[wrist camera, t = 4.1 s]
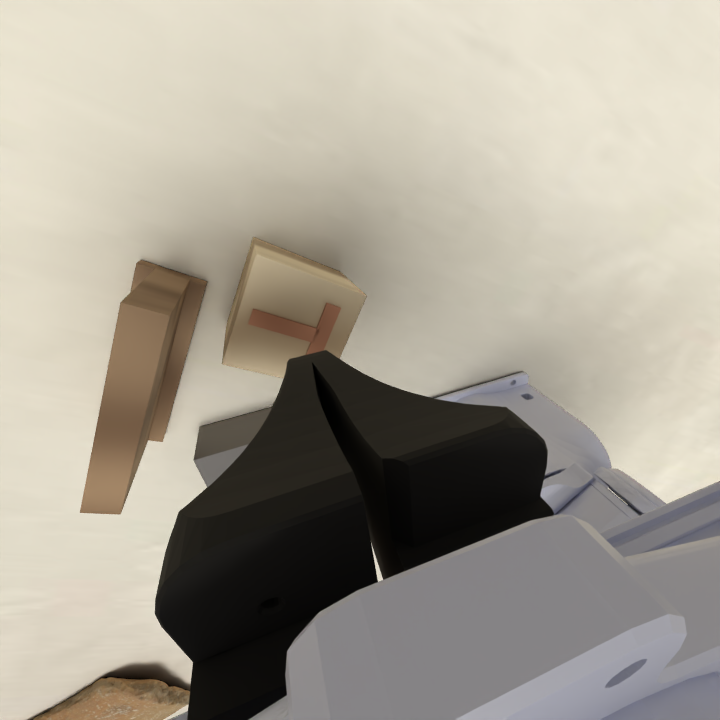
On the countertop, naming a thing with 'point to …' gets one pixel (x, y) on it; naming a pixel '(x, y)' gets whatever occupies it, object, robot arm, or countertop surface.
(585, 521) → the robot arm
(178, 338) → the screen
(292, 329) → the cube
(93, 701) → the stone
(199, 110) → the countertop surface
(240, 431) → the button panel
